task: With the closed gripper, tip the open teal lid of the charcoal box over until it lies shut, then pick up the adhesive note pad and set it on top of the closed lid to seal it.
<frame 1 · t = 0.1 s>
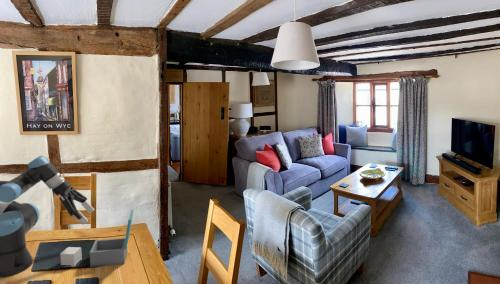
hand: (89, 217, 156), 15 cm above the table, tool tilted 35°, fingers open, 13 cm apart
adhesive note: (71, 263, 144), on the table
box: (109, 258, 148), on the table
lid: (128, 228, 148), point 14 cm above the table, hinge at 100.0°
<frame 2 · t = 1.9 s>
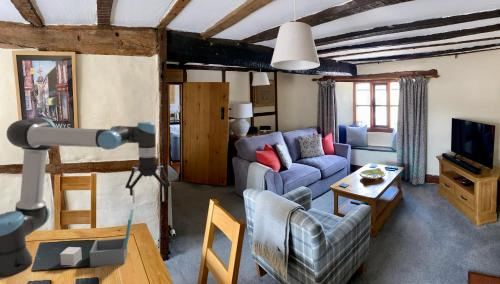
hand: (148, 201, 148), 27 cm above the table, tool pointing down, fingers open, 12 cm apart
nothing on the table moved.
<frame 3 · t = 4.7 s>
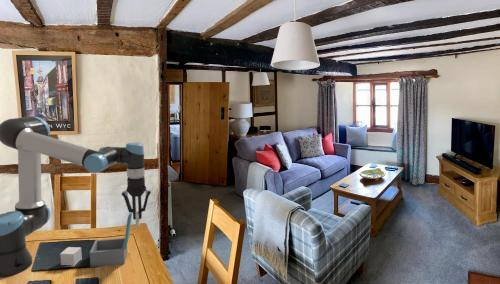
hand: (137, 225, 148), 15 cm above the table, tool pointing down, fingers closed
lid: (128, 228, 147), point 14 cm above the table, hinge at 98.1°, touching gripper
everything else where it was.
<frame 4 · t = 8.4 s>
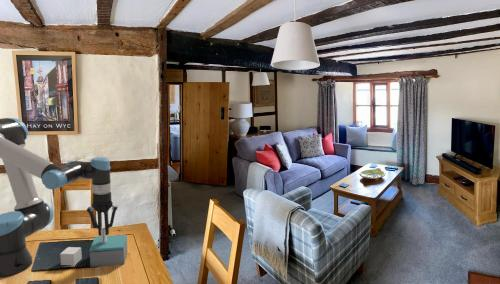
hand: (104, 241, 146), 9 cm above the table, tool pointing down, fingers closed, pressing on lid
lid: (109, 242, 146), point 8 cm above the table, hinge at 1.6°, touching gripper
everything else where it was.
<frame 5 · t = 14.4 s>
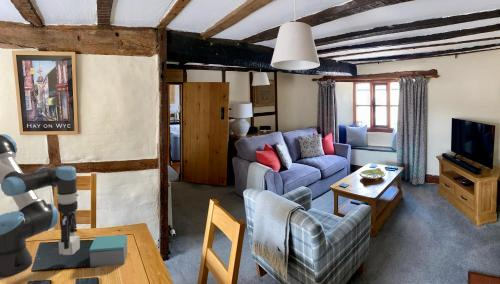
hand: (70, 250, 143), 6 cm above the table, tool pointing down, fingers closed on adhesive note, 7 cm apart
adhesive note: (69, 251, 143), point 5 cm above the table, touching gripper
lid: (109, 242, 146), point 8 cm above the table, hinge at 1.3°
when the fingers open (9 cm above the table, at t = 18.0 s): adhesive note stays where it is, resting on lid.
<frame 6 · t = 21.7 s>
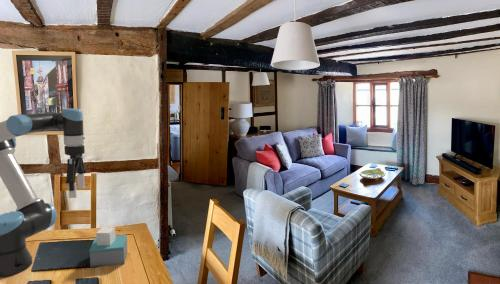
hand: (77, 192, 139), 33 cm above the table, tool pointing down, fingers open, 13 cm apart
adhesive note: (106, 242, 146), point 8 cm above the table, touching lid
lid: (109, 243, 146), point 8 cm above the table, hinge at -0.2°, touching adhesive note
at the end: lid at +0° (first picture: +100°); adhesive note inside the target area (0.7 cm from its centre), point 8.1 cm above the table; adhesive note tilted 2° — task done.
